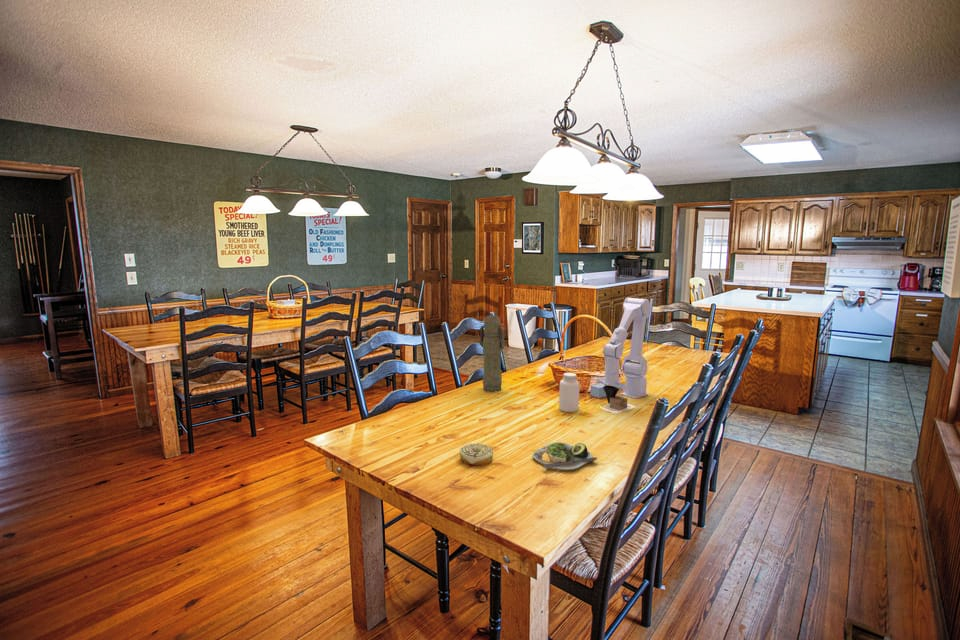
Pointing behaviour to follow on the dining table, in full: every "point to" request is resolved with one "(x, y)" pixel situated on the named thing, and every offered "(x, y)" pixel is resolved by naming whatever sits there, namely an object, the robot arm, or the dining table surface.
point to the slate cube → (597, 391)
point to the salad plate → (564, 456)
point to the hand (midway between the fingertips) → (610, 402)
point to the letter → (616, 409)
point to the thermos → (492, 352)
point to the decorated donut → (476, 454)
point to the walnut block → (618, 402)
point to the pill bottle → (569, 393)
